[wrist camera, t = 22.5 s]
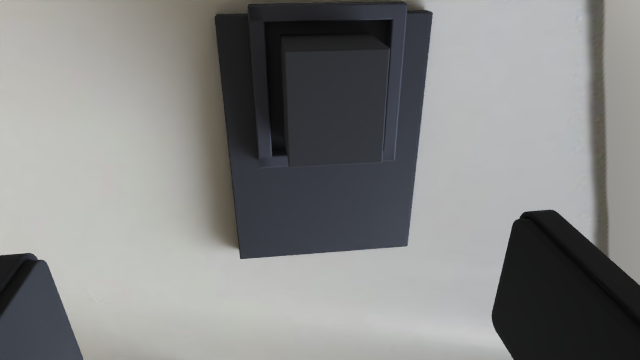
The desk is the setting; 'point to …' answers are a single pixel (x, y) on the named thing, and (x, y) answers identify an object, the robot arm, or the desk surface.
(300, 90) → the dark grey block
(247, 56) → the base pad
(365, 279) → the desk surface
